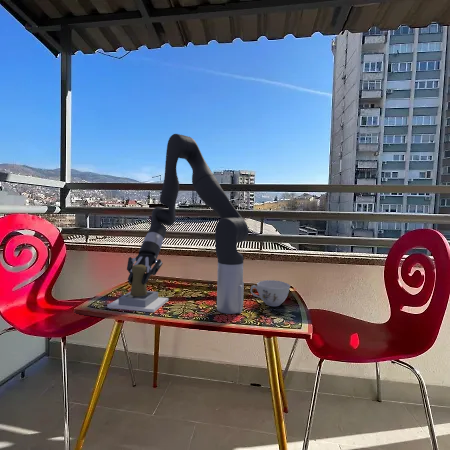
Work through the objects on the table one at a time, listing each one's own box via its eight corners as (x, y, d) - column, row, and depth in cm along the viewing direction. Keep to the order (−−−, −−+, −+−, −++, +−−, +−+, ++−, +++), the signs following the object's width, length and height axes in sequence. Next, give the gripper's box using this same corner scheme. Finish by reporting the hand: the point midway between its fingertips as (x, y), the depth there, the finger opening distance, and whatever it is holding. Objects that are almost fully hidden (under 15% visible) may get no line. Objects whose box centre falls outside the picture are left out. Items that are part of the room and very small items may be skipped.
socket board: (168, 300, 108) (168, 291, 108) (153, 312, 96) (153, 302, 96) (126, 296, 112) (126, 288, 112) (107, 307, 99) (107, 298, 99)
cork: (142, 297, 100) (142, 267, 99) (127, 295, 101) (127, 265, 101) (149, 292, 106) (150, 263, 105) (135, 290, 107) (135, 262, 107)
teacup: (288, 299, 112) (289, 280, 112) (290, 311, 100) (291, 289, 99) (251, 297, 115) (251, 278, 114) (248, 307, 102) (249, 286, 102)
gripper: (132, 239, 111) (114, 276, 100) (165, 241, 108) (151, 279, 97) (138, 250, 117) (122, 286, 106) (170, 252, 114) (157, 289, 103)
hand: (136, 282), depth 102 cm, fingers closed on cork, 4 cm apart
